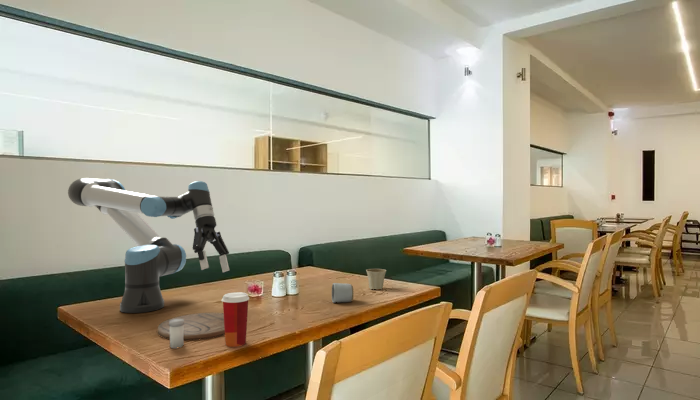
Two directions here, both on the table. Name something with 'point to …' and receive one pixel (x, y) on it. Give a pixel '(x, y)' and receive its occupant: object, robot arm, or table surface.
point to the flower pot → (376, 278)
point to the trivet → (197, 326)
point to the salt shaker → (176, 333)
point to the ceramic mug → (342, 292)
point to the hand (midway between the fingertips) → (216, 270)
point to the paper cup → (235, 318)
